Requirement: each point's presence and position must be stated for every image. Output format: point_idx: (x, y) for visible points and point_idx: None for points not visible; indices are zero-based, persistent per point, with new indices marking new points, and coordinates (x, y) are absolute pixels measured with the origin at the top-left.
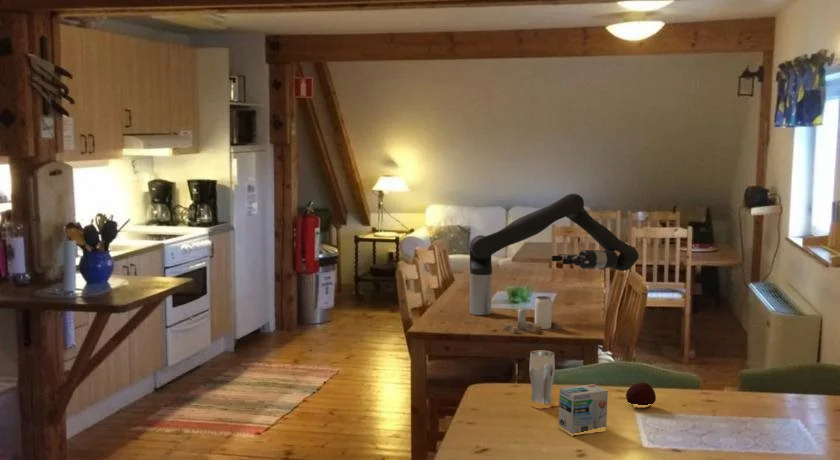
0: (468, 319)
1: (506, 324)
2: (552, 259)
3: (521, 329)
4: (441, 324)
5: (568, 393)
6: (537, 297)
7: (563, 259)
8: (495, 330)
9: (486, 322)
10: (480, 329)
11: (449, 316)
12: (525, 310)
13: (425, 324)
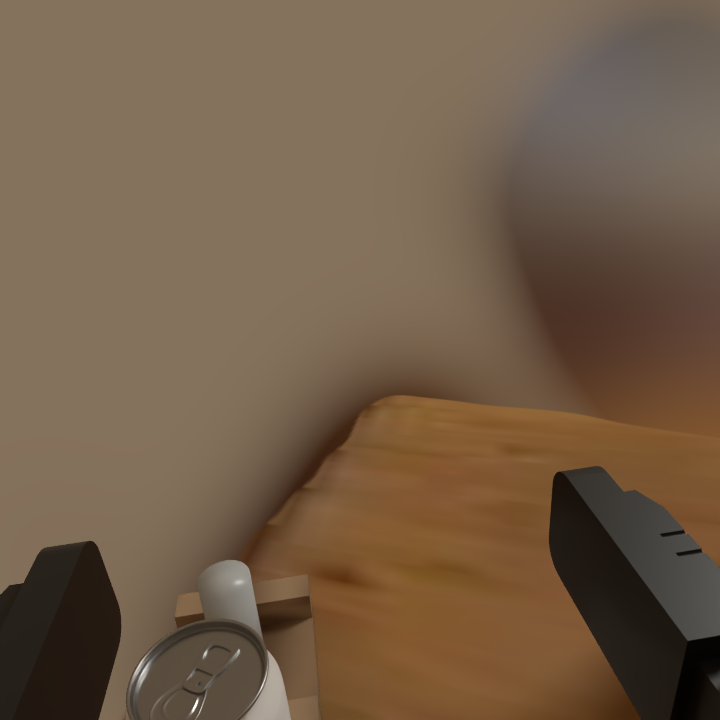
0: None
1: (281, 584)
2: (550, 527)
3: None
4: (487, 444)
5: None
6: (255, 640)
7: (61, 548)
8: (339, 580)
9: (535, 580)
10: (375, 533)
11: (660, 477)
12: (200, 595)
13: (488, 413)
